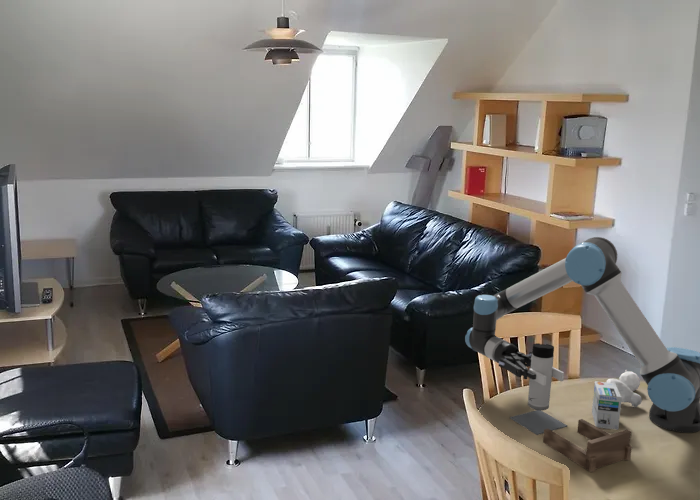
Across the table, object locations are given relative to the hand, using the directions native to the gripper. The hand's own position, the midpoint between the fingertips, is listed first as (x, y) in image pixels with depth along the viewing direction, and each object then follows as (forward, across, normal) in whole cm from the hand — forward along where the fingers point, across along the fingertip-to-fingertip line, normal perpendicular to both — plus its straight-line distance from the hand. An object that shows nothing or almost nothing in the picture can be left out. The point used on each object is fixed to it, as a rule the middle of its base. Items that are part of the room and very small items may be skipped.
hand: (553, 378), depth 205 cm
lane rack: (+14, 0, -16) cm, 21 cm away
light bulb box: (+4, -19, -16) cm, 26 cm away
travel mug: (-5, 0, -11) cm, 12 cm away
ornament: (-9, -45, -16) cm, 48 cm away
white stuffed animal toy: (-2, -33, -16) cm, 37 cm away
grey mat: (-5, 0, -16) cm, 17 cm away
